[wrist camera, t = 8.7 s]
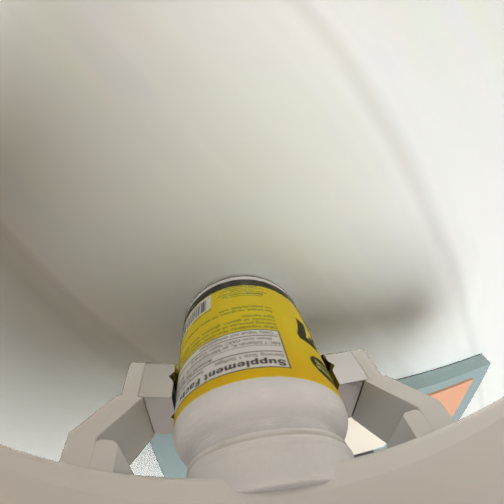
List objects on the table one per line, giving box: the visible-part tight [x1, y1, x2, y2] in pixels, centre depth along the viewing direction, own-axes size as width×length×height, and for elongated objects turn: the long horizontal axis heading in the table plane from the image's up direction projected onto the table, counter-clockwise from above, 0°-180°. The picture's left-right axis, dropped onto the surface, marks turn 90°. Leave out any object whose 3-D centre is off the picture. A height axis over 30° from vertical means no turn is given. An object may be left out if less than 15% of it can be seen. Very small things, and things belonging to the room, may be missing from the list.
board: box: [150, 354, 490, 478], centre depth 16 cm, size 22×15×3 cm
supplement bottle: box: [173, 276, 354, 493], centre depth 9 cm, size 5×5×8 cm
